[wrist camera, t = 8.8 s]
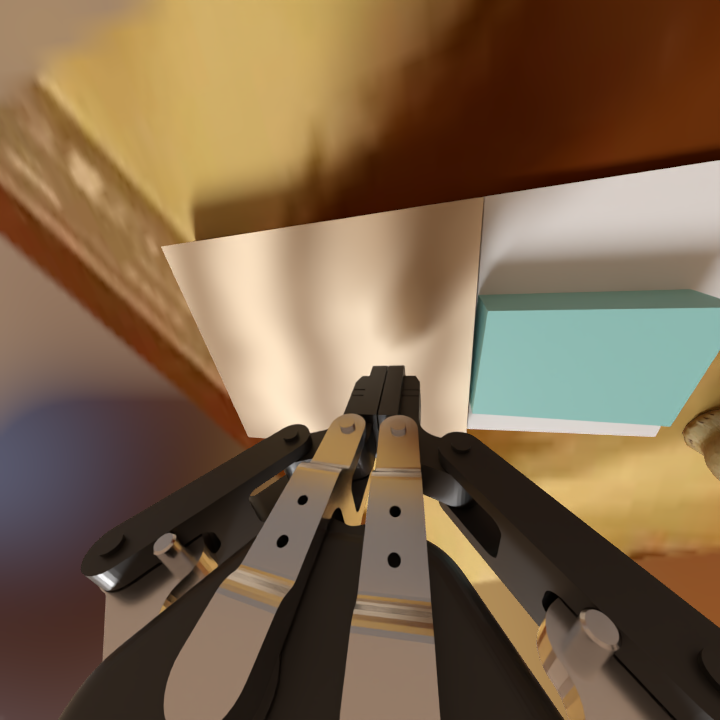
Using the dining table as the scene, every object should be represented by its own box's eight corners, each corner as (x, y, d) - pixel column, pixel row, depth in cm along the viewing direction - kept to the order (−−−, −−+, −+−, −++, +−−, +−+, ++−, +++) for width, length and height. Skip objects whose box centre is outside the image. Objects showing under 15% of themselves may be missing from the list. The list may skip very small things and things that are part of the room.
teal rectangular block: (691, 289, 12) (747, 307, 10) (635, 395, 15) (670, 426, 13) (478, 295, 14) (487, 311, 12) (466, 387, 17) (472, 413, 15)
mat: (795, 148, 10) (812, 145, 9) (649, 430, 16) (655, 436, 16) (482, 196, 12) (485, 196, 12) (466, 423, 19) (467, 428, 19)
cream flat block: (473, 198, 12) (483, 196, 10) (460, 423, 19) (464, 450, 17) (195, 241, 16) (161, 246, 14) (264, 415, 23) (248, 436, 21)
